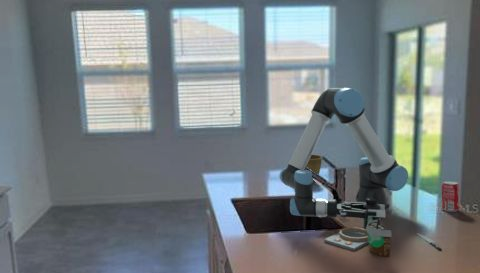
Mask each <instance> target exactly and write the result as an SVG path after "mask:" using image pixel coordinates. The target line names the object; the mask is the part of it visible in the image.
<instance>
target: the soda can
mask: <svg viewBox="0 0 480 273" xmlns="http://www.w3.org/2000/svg"><path fill="white" fill-rule="evenodd" d="M441 184H442V185H441V209H442V210H443V211H444V212H447V213H456V212H458V211H459V209H460V185H459V182H458V181H455V180H445V181H443V182H442V183H441Z"/></svg>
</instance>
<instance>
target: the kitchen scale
mask: <svg viewBox="0 0 480 273" xmlns="http://www.w3.org/2000/svg"><path fill="white" fill-rule="evenodd" d="M323 241H324V243H327V244H330V245H334V246H336V247H340V248H343V249H345V250H350V251H353V252H355V251H358V250H359V249H361V248H362V247H365V246H366V245H369V239H368V232H367V231H366V228H362V227H356V226H354V227H349V226H348V227H344V228H341V229H340V230H339V232H337V233H335V234H332V235H330V236H328V237H326V238H324V240H323Z"/></svg>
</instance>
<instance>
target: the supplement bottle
mask: <svg viewBox="0 0 480 273" xmlns="http://www.w3.org/2000/svg"><path fill="white" fill-rule="evenodd" d="M368 209H370V210H381V207H380V205H378V198H376V197H367V198H366V204H365V205H364V206H363V210H368ZM362 219H363V220H362V221H363V222H362V223H363V227H364V229H366V226H367V224H368V222H369V221H372V220H378V223H379V224H380V225H382V217H368V219H366V218H362Z"/></svg>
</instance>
